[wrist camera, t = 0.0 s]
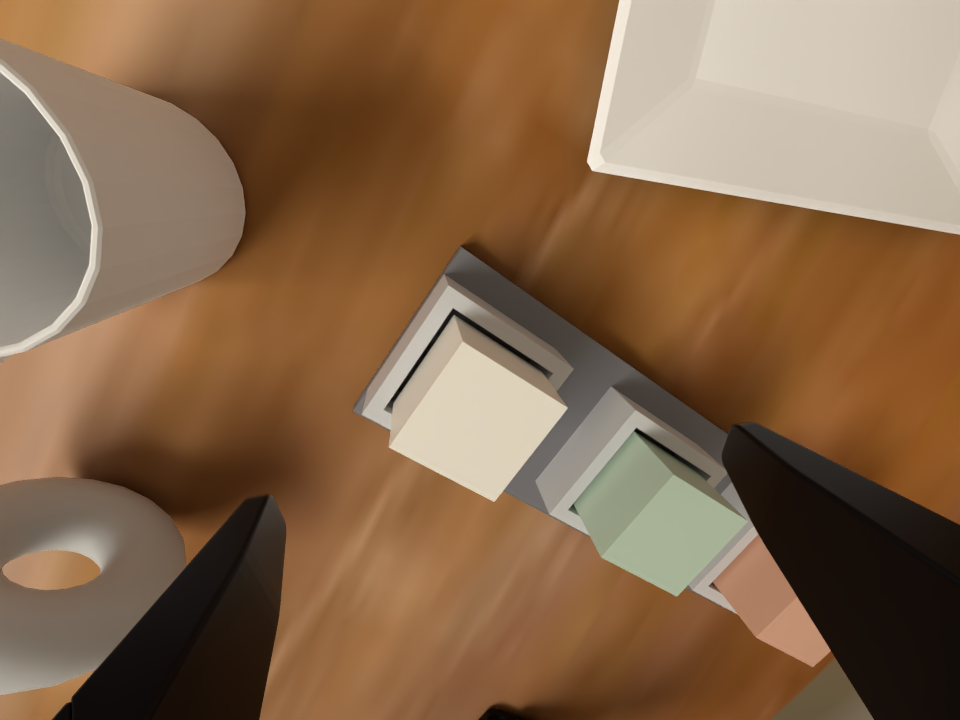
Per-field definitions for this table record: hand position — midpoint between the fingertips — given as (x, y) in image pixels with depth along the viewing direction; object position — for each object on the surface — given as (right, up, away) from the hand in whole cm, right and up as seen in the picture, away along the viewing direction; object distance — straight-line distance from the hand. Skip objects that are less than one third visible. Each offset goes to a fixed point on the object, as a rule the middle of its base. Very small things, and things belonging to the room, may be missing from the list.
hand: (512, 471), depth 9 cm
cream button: (-1, +1, +13) cm, 13 cm away
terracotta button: (+17, -10, +19) cm, 27 cm away
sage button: (+8, -5, +16) cm, 18 cm away
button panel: (+7, -4, +19) cm, 21 cm away
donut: (-20, -5, +16) cm, 26 cm away
